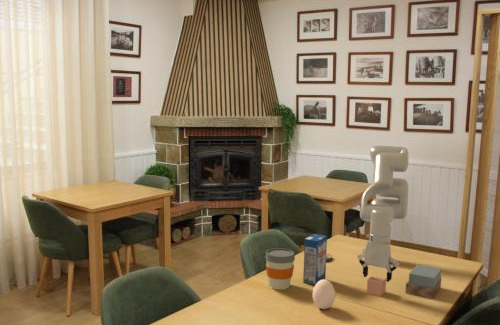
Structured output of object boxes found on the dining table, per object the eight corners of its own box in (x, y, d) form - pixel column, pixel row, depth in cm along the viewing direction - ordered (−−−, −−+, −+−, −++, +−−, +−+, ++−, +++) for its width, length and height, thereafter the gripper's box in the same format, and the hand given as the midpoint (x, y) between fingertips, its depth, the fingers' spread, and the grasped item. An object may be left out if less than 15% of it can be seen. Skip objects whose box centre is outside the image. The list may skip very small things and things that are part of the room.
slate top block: (408, 283, 205) (409, 273, 204) (416, 273, 216) (417, 264, 216) (433, 289, 199) (434, 278, 199) (440, 278, 211) (441, 268, 210)
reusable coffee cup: (298, 283, 213) (299, 250, 211) (287, 293, 202) (288, 258, 200) (271, 278, 219) (272, 246, 217) (260, 288, 207) (260, 254, 205)
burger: (333, 263, 242) (333, 248, 241) (309, 262, 242) (309, 248, 241) (329, 255, 254) (330, 241, 253) (306, 255, 254) (307, 241, 253)
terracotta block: (366, 293, 204) (367, 279, 203) (371, 288, 209) (372, 275, 208) (380, 296, 201) (381, 282, 200) (385, 292, 206) (386, 278, 205)
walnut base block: (405, 294, 205) (406, 284, 204) (414, 283, 217) (415, 273, 217) (432, 300, 199) (433, 289, 198) (440, 288, 212) (441, 278, 211)
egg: (319, 314, 183) (320, 285, 182) (307, 305, 191) (308, 277, 189) (339, 311, 186) (340, 282, 185) (326, 302, 194) (327, 274, 193)
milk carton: (316, 286, 211) (317, 241, 208) (303, 283, 214) (304, 238, 212) (325, 279, 219) (327, 235, 217) (312, 276, 223) (314, 233, 220)
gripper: (355, 237, 203) (353, 276, 205) (397, 244, 194) (395, 285, 196) (361, 233, 210) (360, 272, 211) (402, 240, 200) (400, 280, 202)
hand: (376, 278), depth 204 cm, fingers open, 9 cm apart
